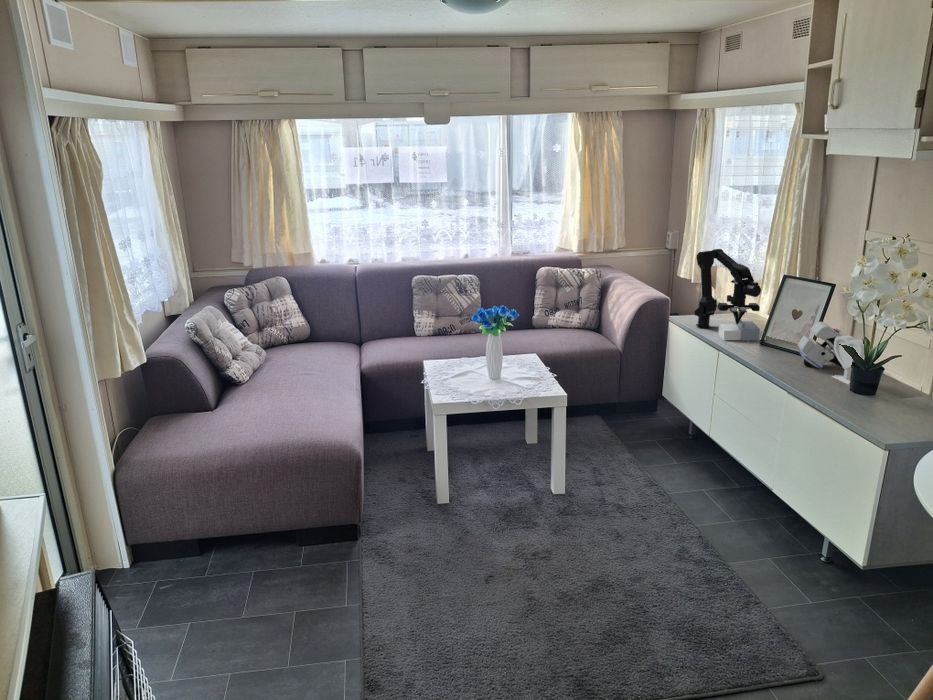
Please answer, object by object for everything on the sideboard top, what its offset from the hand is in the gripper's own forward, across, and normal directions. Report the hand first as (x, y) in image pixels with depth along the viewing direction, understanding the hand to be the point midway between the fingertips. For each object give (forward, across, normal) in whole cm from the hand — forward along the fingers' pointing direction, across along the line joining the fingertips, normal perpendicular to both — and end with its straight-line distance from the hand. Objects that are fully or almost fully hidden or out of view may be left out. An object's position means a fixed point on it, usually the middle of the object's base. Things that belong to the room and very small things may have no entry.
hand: (736, 323), depth 351 cm
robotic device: (+7, -27, +43) cm, 51 cm away
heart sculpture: (+7, -30, +61) cm, 68 cm away
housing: (+7, -3, 0) cm, 8 cm away
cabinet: (+6, -5, 0) cm, 8 cm away
